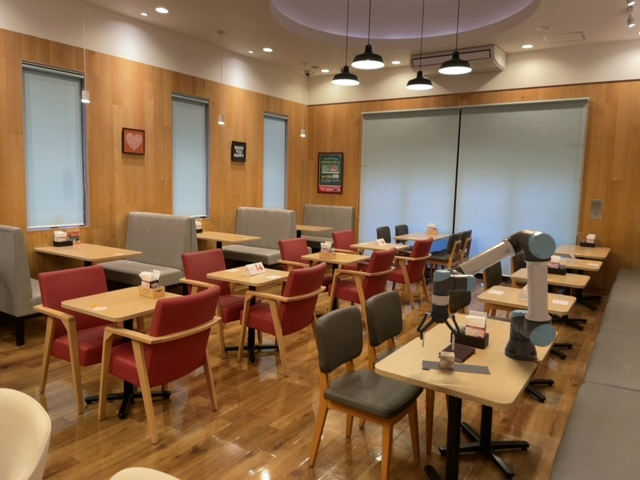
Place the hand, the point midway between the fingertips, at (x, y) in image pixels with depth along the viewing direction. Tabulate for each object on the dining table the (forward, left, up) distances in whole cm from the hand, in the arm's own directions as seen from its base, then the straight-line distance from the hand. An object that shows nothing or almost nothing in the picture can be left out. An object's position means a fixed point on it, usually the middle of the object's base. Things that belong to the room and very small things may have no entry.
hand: (437, 347), depth 223 cm
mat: (-9, 0, -9) cm, 13 cm away
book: (-11, -18, -10) cm, 23 cm away
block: (-5, 0, -3) cm, 5 cm away
